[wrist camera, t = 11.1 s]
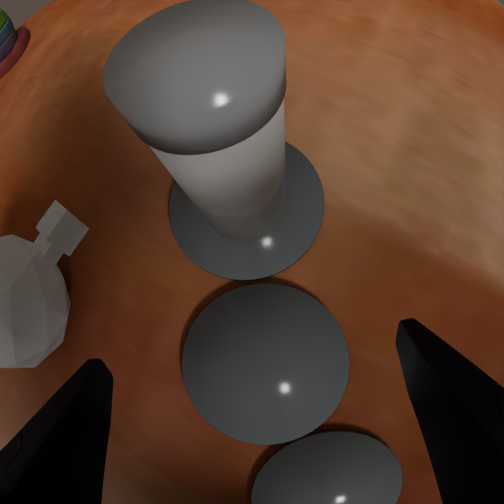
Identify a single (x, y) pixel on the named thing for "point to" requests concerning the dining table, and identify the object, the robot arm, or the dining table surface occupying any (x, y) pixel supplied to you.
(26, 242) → the perfume bottle
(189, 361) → the coaster mid
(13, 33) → the stacking bear
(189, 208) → the coaster
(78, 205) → the dining table surface
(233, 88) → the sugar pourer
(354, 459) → the coaster
